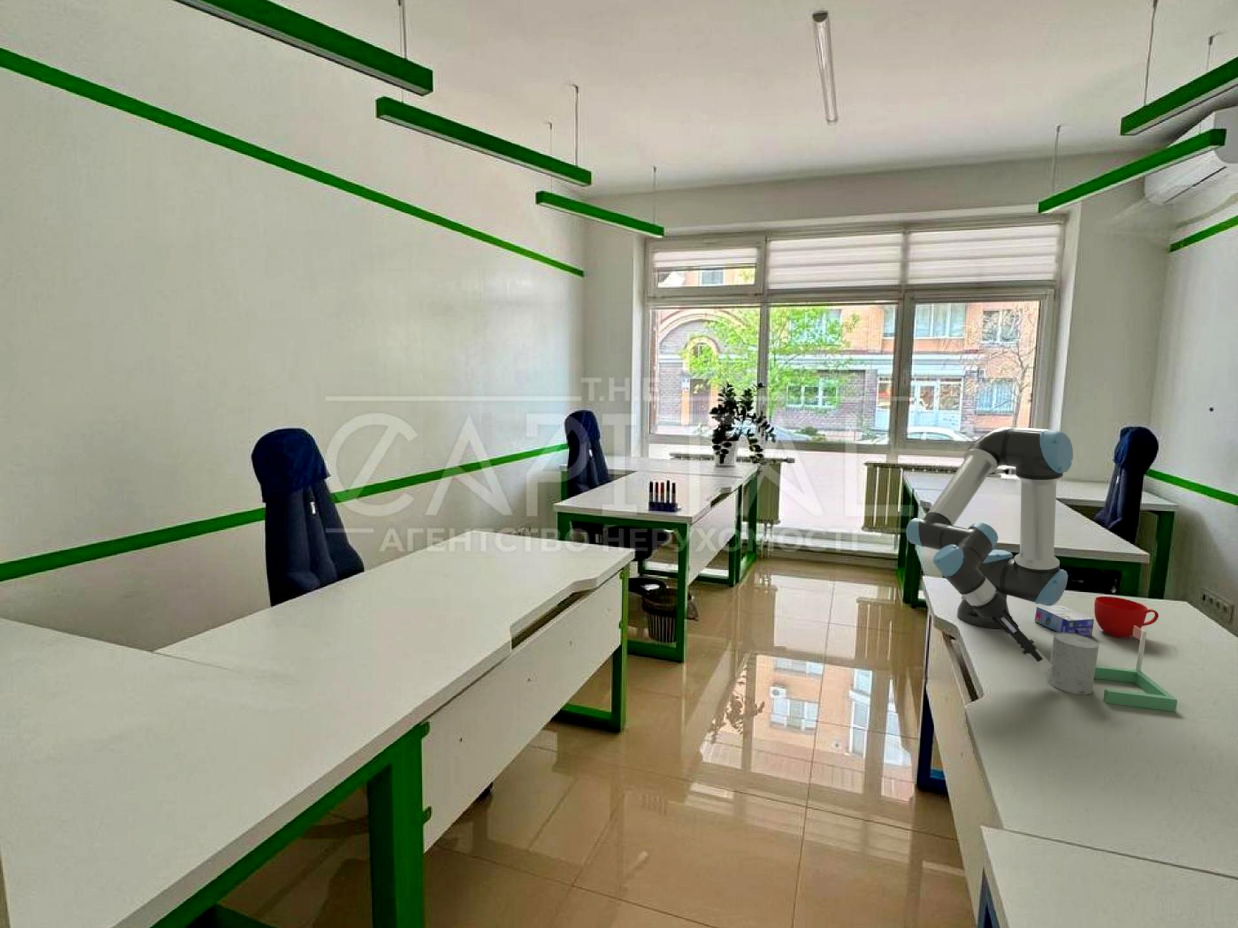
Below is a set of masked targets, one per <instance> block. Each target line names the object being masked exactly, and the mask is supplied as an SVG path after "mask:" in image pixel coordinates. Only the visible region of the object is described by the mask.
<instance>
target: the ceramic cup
mask: <svg viewBox="0 0 1238 928" xmlns="http://www.w3.org/2000/svg"><path fill="white" fill-rule="evenodd" d="M1093 607H1094V608H1093V609H1094V611H1093V612H1094V617H1095V618H1094V619H1095V620H1096V623H1097V624H1098V626H1099V627H1100V629H1101V631H1103V633H1105V634H1106V635H1109V636H1112V637H1115V638H1120V639H1130V637H1132V636H1134V635H1133V629H1134V625H1135V626H1137V627H1138V628H1140V629H1141V630H1142V628H1143V627H1146V626H1149V625H1152V624H1154V623H1156V622H1157V620H1158V619H1159V613H1158V612H1157V611H1156V610H1154V609H1152V608H1150V609H1149V608H1148V607H1147V606H1146V605H1145V604H1143V603H1140V602H1137V601H1134V600H1130V599H1128V598H1127V599H1126V598H1121V597H1116V596H1107V595H1105V596H1097V597H1095V598H1094V606H1093ZM1149 613H1153V614H1154V616H1153V617H1152V618H1151V619H1150V620H1149V621H1146V618H1147V614H1149ZM1145 621H1146V622H1145Z"/></svg>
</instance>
